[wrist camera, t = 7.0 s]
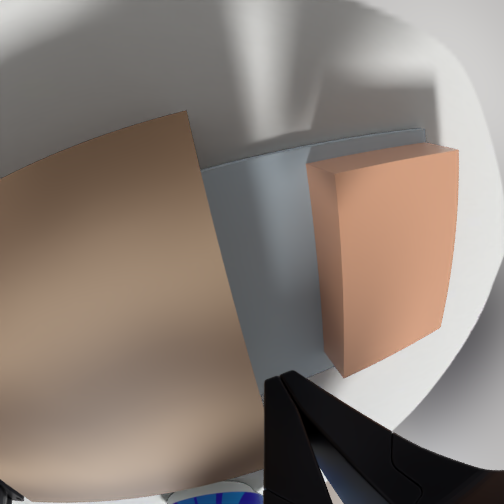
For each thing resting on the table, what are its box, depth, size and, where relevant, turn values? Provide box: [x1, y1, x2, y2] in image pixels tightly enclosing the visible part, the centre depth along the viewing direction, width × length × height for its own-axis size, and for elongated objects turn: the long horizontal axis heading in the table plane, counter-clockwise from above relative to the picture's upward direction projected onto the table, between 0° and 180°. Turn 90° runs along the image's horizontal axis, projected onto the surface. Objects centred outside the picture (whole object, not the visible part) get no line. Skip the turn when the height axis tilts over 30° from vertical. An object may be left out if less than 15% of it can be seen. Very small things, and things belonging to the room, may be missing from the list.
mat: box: [200, 128, 426, 395], centre depth 13 cm, size 11×10×1 cm
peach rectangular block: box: [306, 142, 459, 378], centre depth 12 cm, size 9×6×2 cm, turn 10°
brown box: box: [0, 110, 264, 503], centre depth 9 cm, size 14×14×4 cm
